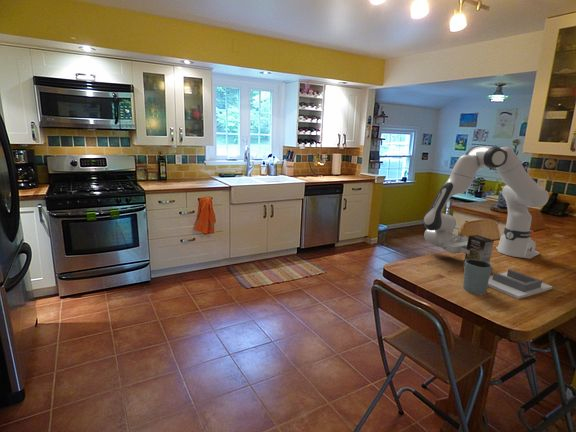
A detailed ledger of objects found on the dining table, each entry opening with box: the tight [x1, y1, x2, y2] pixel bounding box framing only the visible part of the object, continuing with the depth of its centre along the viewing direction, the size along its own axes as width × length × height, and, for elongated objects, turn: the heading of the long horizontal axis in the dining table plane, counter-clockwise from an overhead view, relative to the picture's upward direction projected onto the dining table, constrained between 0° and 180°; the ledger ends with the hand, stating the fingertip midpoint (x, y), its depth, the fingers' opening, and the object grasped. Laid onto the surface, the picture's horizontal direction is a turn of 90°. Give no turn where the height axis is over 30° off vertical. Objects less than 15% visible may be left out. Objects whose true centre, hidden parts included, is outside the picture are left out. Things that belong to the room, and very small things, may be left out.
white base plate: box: [487, 269, 553, 300], centre depth 150 cm, size 24×18×4 cm
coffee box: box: [463, 234, 495, 268], centre depth 165 cm, size 9×6×16 cm
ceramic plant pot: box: [462, 259, 493, 295], centre depth 143 cm, size 10×10×12 cm
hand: (476, 251), depth 166 cm, fingers open, 8 cm apart
